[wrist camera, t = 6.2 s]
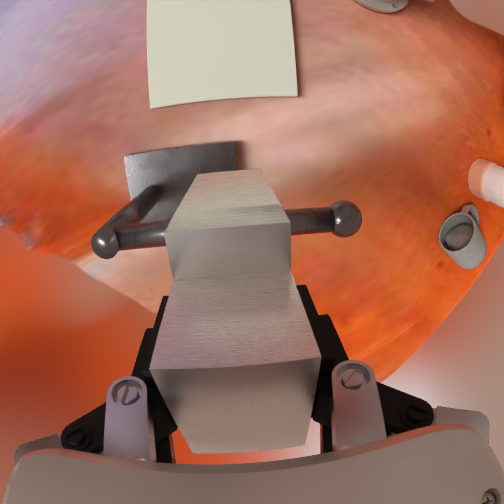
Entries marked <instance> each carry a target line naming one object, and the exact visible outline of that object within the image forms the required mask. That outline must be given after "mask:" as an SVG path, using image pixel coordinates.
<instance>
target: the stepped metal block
mask: <svg viewBox="0 0 504 504" xmlns="http://www.w3.org/2000/svg"><path fill="white" fill-rule="evenodd" d="M164 236H165V241H166V246H167V251H168V256H169V261H170V266H171V271H172V275H173V280H174V281H173V284H172V287H171V291H170V294H169V297H168V301H167V304H166V308H165V311H164V315H163V318H162V322H161V325H160V329H159V333H158V336H157V340H156V344H155V348H154V352H153V355H152V359H151V363H150V367H149V369H150V372H151V374H152V376H153V378H154V380H155V383H156V385H157V387H158V389H159V391H160V393H161V395H162V397H163V399H164V401H165V403H166V405H167V407H168V409H169V411H170V413H171V415H172V417H173V419H174V421H175V422H176V424H177V426H178V428H179V430H180V431H181V433H182V435H183V437H184V439H185V440H186V442H187V444H188V446H189V447H190V449H191V451H192V452H193V453H235V452H251V451H263V450H272V449H281V448H288V447H296V446H302V445H305V441H306V437H307V432H308V427H309V423H310V418H311V413H312V408H313V403H314V397H315V392H316V386H317V380H318V374H319V368H320V362H321V354H320V351H319V348H318V346H317V343H316V340H315V337H314V334H313V331H312V328H311V326H310V323H309V320H308V317H307V314H306V312H305V309H304V306H303V303H302V301H301V298H300V295H299V292H298V290H297V287H296V284H295V282H294V279H293V276H292V273H291V222H290V220H289V219H288V217H287V215H286V213H285V211H284V210H283V208H282V206H281V204H280V203H279V201H278V199H277V197H276V196H275V194H274V192H273V190H272V189H271V187H270V185H269V184H268V182H267V180H266V178H265V177H264V175H263V173H262V172H261V170H260V169H250V170H237V171H225V172H214V173H204V174H197V176H196V178H195V179H194V181H193V183H192V184H191V186H190V188H189V189H188V191H187V193H186V195H185V196H184V198H183V200H182V202H181V203H180V205H179V207H178V209H177V210H176V212H175V214H174V216H173V218H172V219H171V221H170V223H169V225H168V227H167V228H166V230H165V232H164Z"/></svg>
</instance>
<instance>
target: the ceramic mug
mask: <svg viewBox="0 0 504 504" xmlns="http://www.w3.org/2000/svg"><path fill="white" fill-rule="evenodd" d="M469 210H470V212H471V214H472V217H471V216H470V215H469V214H468V212H469ZM478 227H479V216H478V212H477V209H476V207H475V206H474V205H472V204H470V205H469V204H467V205H465V206H463V208H462V211H461V212H458V213H455V214H453V215H451V216H449V217H448V218H447V219H446V220H445V222H444V223H443V225H442V226H441V228H440V231H439V243H440V245H441V247H442V248H443V250H444V251H445V252H446V253H447V254H448V255H449V256H450V257H451V258H452V259H453V260H454V261H455V263H456V264H457V265H459V266H460V267H462V268H464V269H473V268H476V267H477V266H478V265H480V264H481V263H482V261H483V260H484V258H485V255H486V243H485V240H484V238H483V236H482V234H481V232H480V230H479V228H478Z"/></svg>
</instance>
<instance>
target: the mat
mask: <svg viewBox="0 0 504 504" xmlns="http://www.w3.org/2000/svg"><path fill="white" fill-rule="evenodd" d="M147 62H148V83H149V98H150V109H155V108H161V107H167V106H173V105H180V104H187V103H195V102H204V101H213V100H224V99H237V98H256V97H297V96H298V93H297V77H296V63H295V50H294V38H293V27H292V17H291V8H290V0H147Z"/></svg>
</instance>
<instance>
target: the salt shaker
mask: <svg viewBox="0 0 504 504" xmlns="http://www.w3.org/2000/svg"><path fill="white" fill-rule="evenodd" d="M468 187H469V190H470V192H471V193H472V194H473V195H474V196H476V197H478V198H480V199H482V200H484V201H486V202H493V203H495V204H497V205H499V206H500V207H502V208H504V167H500V166H498V165H497V164H496V163H495V162H492V161H489V160H485V159H481V158H478V159H477V160H475V161H474V162H473V163H472V165H471V167H470V169H469V173H468Z"/></svg>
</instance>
